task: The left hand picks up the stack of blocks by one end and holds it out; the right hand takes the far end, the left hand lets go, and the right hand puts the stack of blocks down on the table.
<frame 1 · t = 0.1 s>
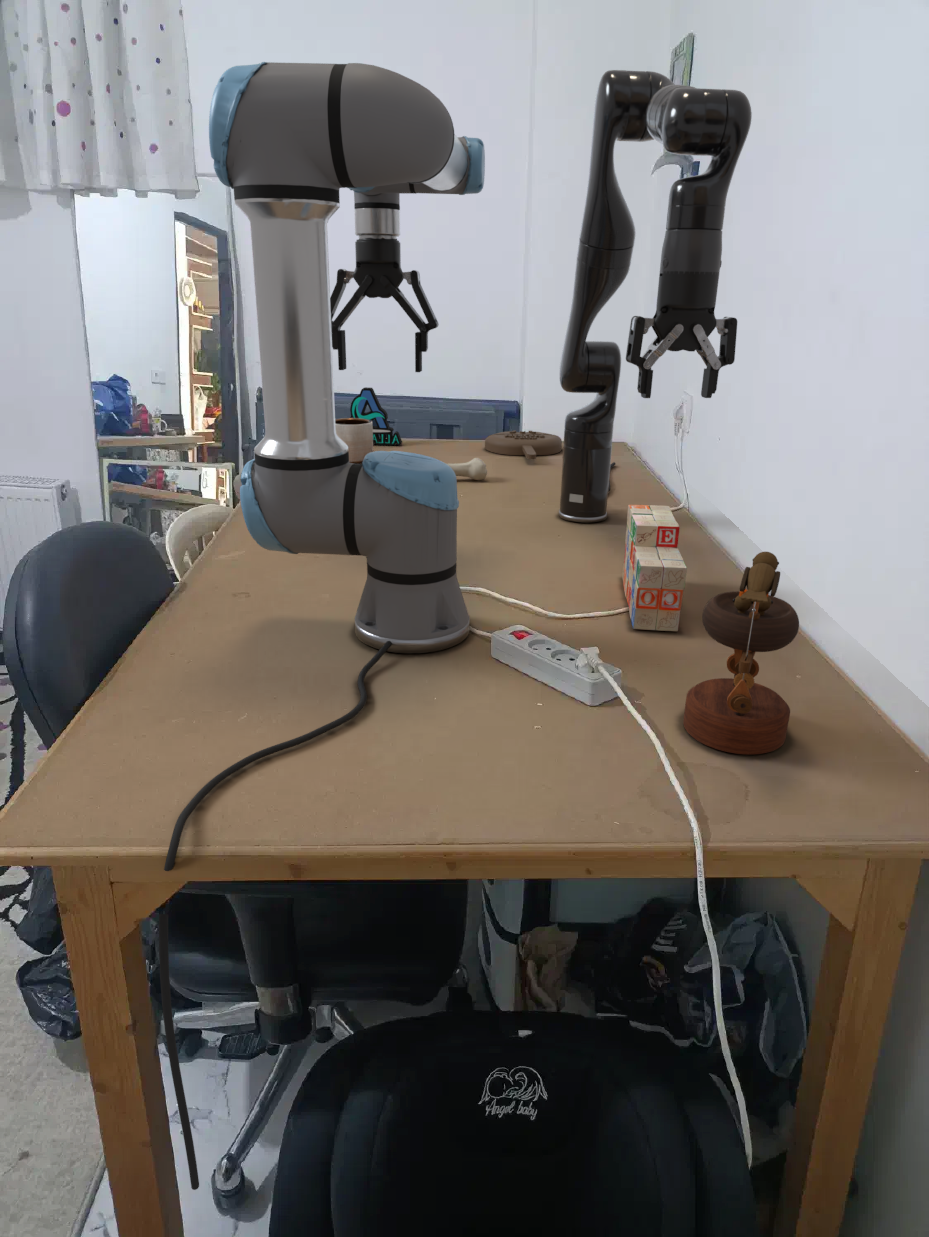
left hand: (380, 370, 149), 28 cm above the table, tool pointing down, fingers open, 13 cm apart
right hand: (675, 397, 115), 29 cm above the table, tool pointing down, fingers open, 8 cm apart
dog toy: (442, 480, 195), on the table
planter: (352, 460, 214), on the table
stack of blocks: (648, 603, 124), on the table
decorative sign: (367, 444, 234), on the table
music box: (732, 726, 91), on the table
ice cream bar: (525, 454, 225), on the table
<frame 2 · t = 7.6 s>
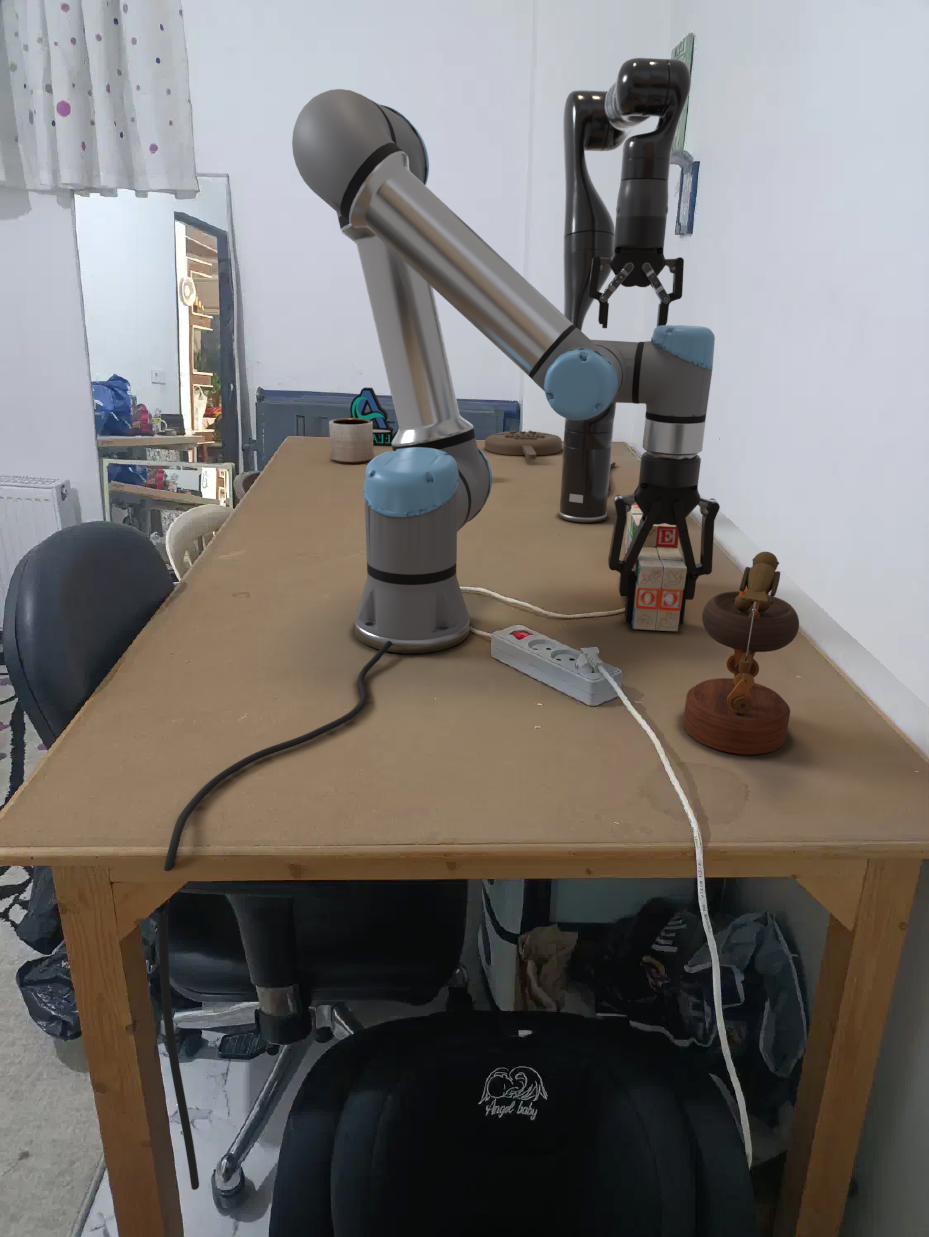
left hand: (653, 618, 117), 1 cm above the table, tool pointing down, fingers closed on stack of blocks, 6 cm apart
right hand: (631, 328, 133), 37 cm above the table, tool pointing down, fingers open, 8 cm apart
stack of blocks: (647, 603, 124), on the table, touching left hand
everything else where it was.
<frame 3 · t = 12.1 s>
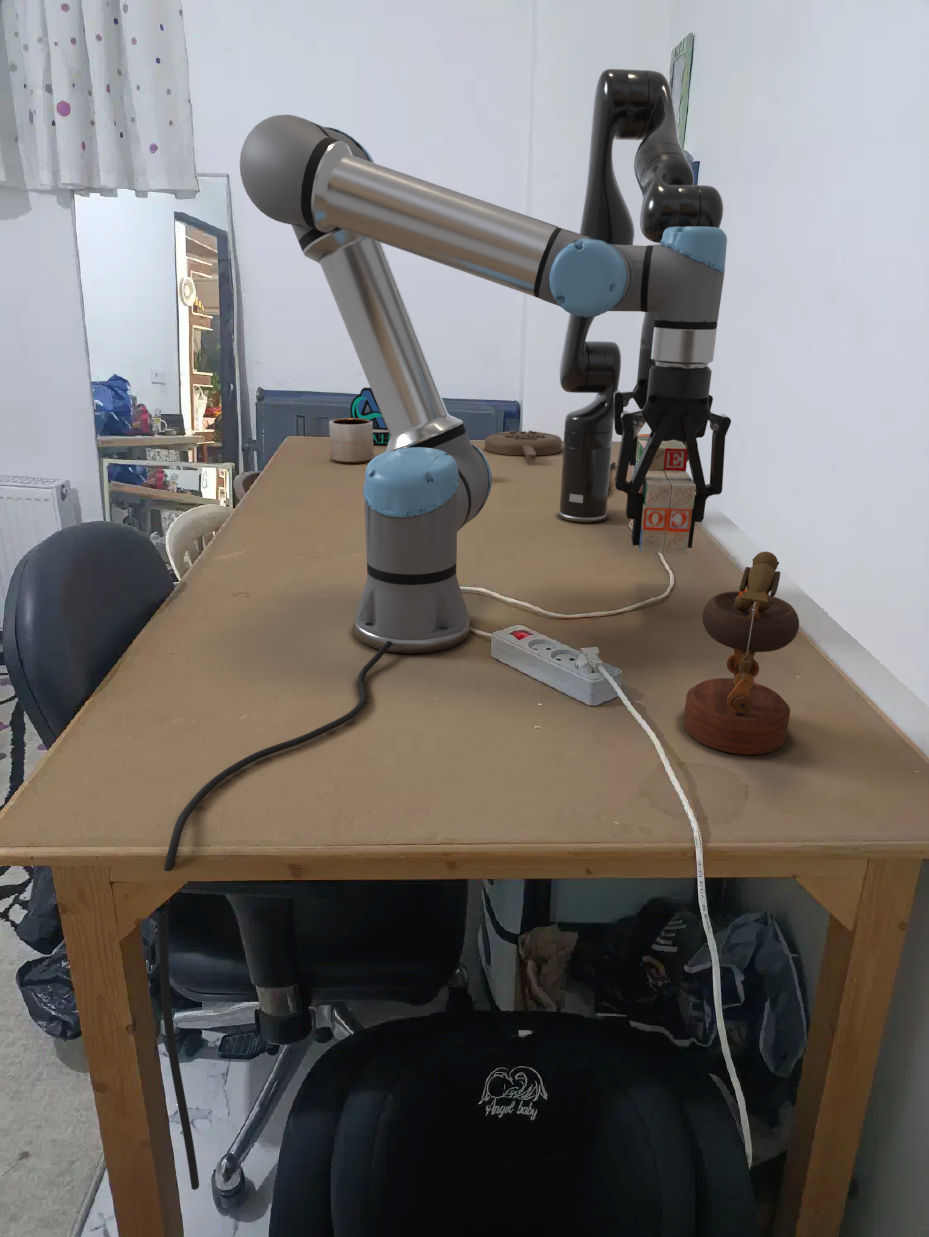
left hand: (661, 543, 113), 11 cm above the table, tool pointing down, fingers closed on stack of blocks, 6 cm apart
right hand: (655, 465, 124), 19 cm above the table, tool pointing down, fingers closed on stack of blocks, 6 cm apart
stack of blocks: (655, 532, 120), point 11 cm above the table, touching left hand, right hand
everything else where it was.
when the left hand's fingers open (11 cm above the table, at t = 13.2 s): stack of blocks stays where it is, held by the right hand.
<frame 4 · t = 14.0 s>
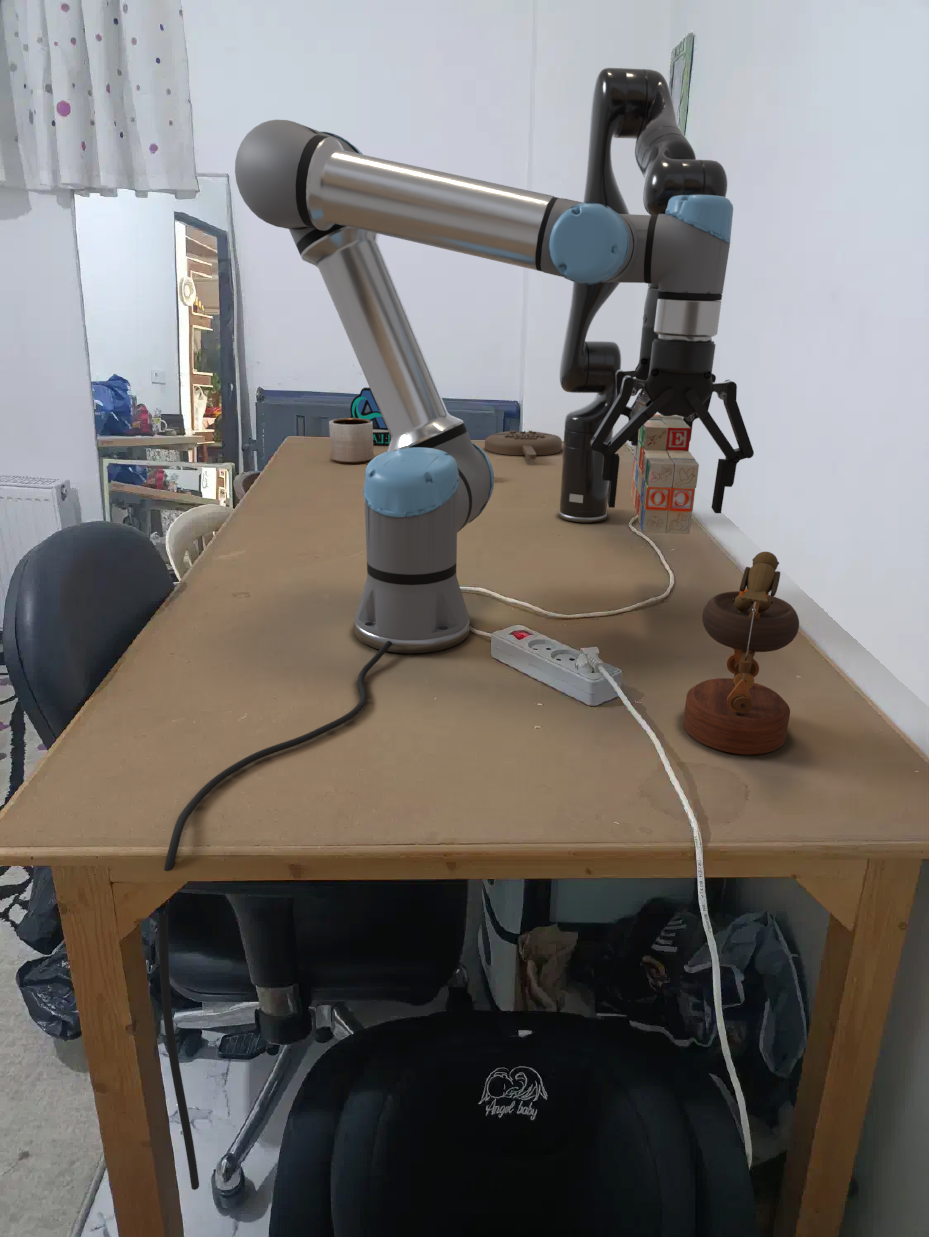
left hand: (663, 508, 111), 16 cm above the table, tool pointing down, fingers open, 13 cm apart
right hand: (657, 445, 123), 22 cm above the table, tool pointing down, fingers closed on stack of blocks, 6 cm apart
stack of blocks: (657, 513, 119), point 14 cm above the table, touching right hand
everything else where it was.
when the right hand's fingers open (9 cm above the table, at t = 24.4 s): stack of blocks drops 1 cm, on the table.
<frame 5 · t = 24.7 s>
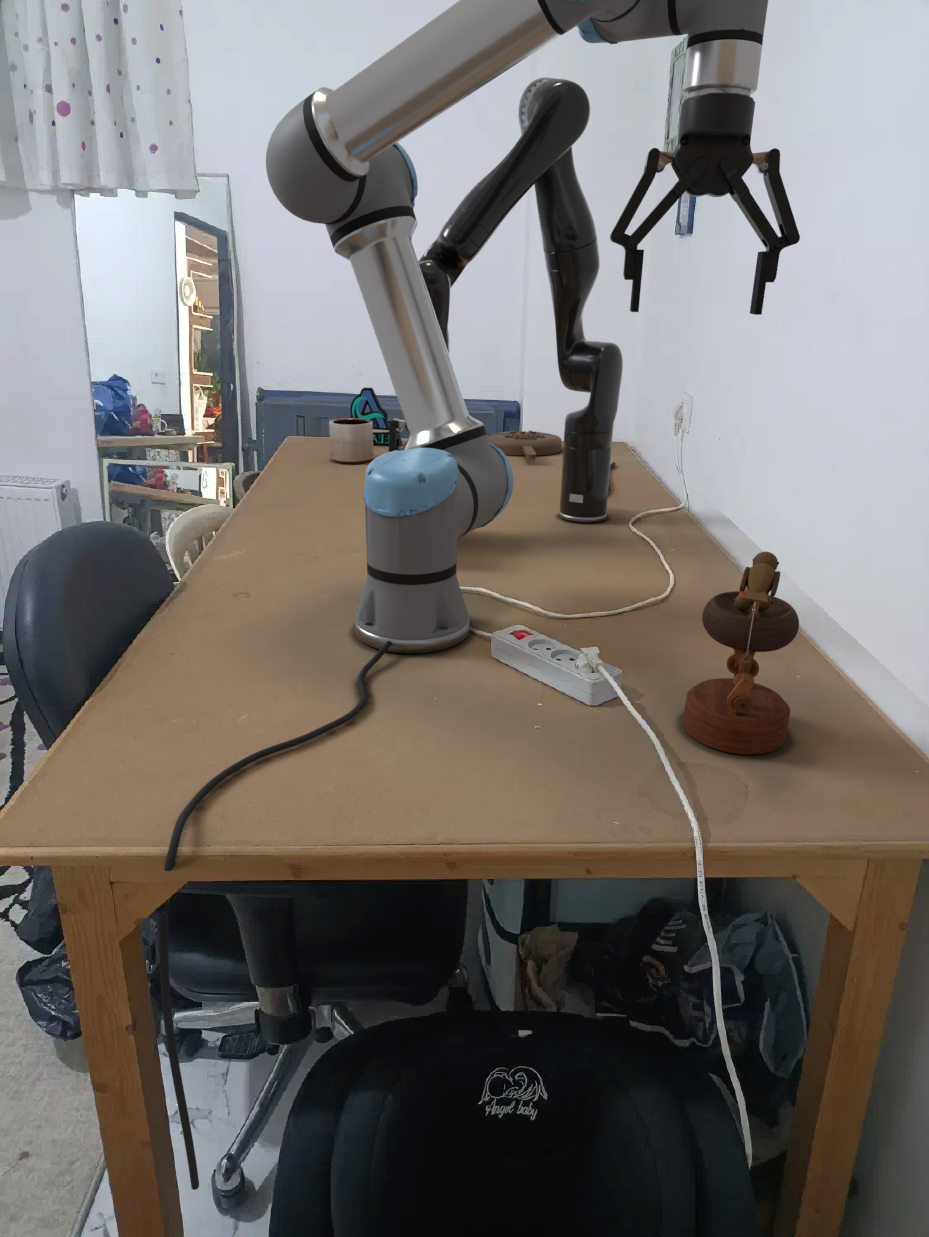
left hand: (694, 313, 96), 41 cm above the table, tool pointing down, fingers open, 13 cm apart
right hand: (428, 479, 151), 10 cm above the table, tool pointing down, fingers open, 8 cm apart
stack of blocks: (422, 547, 148), on the table
everything else where it was.
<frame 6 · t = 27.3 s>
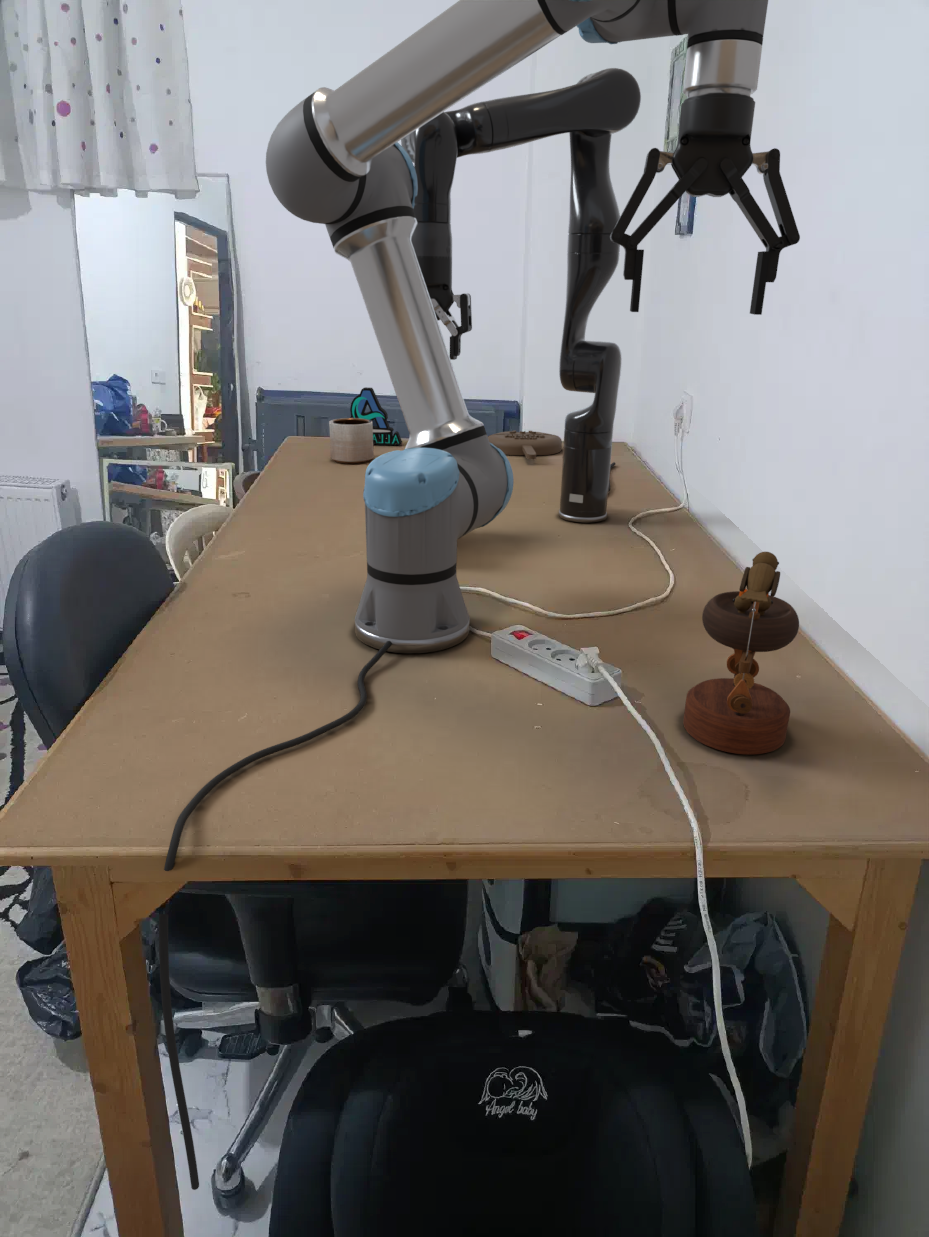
left hand: (694, 313, 96), 41 cm above the table, tool pointing down, fingers open, 13 cm apart
right hand: (429, 358, 143), 31 cm above the table, tool pointing down, fingers open, 8 cm apart
nothing on the table moved.
at the end: stack of blocks inside the target area (7.8 cm from its centre), on the table; the left hand is holding nothing; the right hand is holding nothing; stack of blocks at rest at the end (0.0 cm/s) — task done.
